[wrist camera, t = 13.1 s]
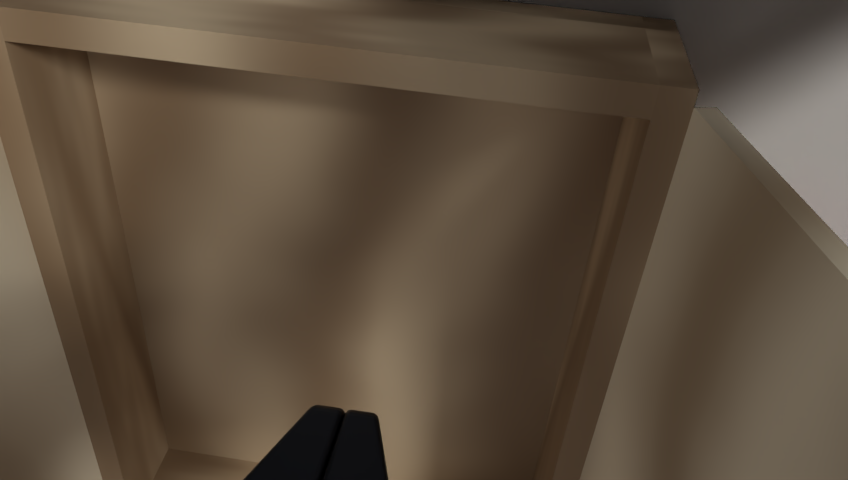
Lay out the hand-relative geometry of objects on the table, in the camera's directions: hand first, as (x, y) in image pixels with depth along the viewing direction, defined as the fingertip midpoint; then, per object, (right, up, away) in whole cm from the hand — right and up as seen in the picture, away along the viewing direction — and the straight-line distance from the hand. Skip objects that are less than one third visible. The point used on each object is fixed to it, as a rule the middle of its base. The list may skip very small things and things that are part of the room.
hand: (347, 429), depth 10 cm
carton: (-1, +1, +16) cm, 16 cm away
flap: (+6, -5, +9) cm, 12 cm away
